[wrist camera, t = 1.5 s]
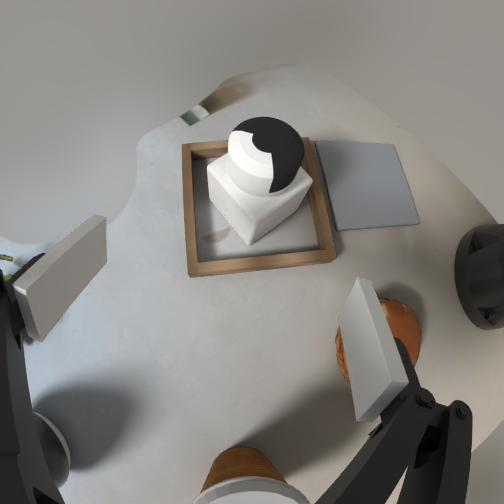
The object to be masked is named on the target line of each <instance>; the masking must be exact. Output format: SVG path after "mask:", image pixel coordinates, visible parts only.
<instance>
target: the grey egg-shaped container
mask: <svg viewBox="0 0 504 504" xmlns="http://www.w3.org/2000/svg"><path fill="white" fill-rule="evenodd" d="M33 414H34V419H35V423H36V428H37V432H38V436H39V439H40V443H41V447H42V450H43V454H44V457H45V460H46V464H47V467H48V470H49V473H50V476H51V478H52V480H53V482H54V484H55V486H56V487H57V489H59V488H60V487H62V486H63V485H64V484H65V482H66V481H67V479H68V475H69V469H70V462H71V460H70V452H69V448H68V445H67V443H66V441H65V439H64V437H63V435H62V434H61V432H60V431H59V430H58V428H57V427H56V426H55V425H54V424H53V423H52V422H51V421H50V420H48V419H47V418H46V417H44V416H42V415H41V414H39V413H36V412H34V411H33Z"/></svg>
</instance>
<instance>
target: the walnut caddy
mask: <svg viewBox="0 0 504 504" xmlns="http://www.w3.org/2000/svg"><path fill="white" fill-rule="evenodd" d="M301 139H302V141H303V144H304V149H305V152H304V158H303V161H302V163H301V165H302V168H303V169H304V170H305V172H306V173H307V174H308V175H309V176H310V177H311V178H312V179H313V182H312V184H311V186H310V188H309V190H308V196H309V201H310V205H311V210H312V215H313V220H314V225H315V230H316V235H317V240H318V246H319V250H317V251H307V252H297V253H288V254H278V255H268V256H258V257H249V258H239V259H229V260H219V261H209V262H199V261H198V249H197V236H196V223H195V207H194V190H193V170H192V160H194V159H204V158H215V157H221V156H223V155H225V154H226V153H228V142H229V140H223V141H210V142H199V143H189V144H182V177H183V203H184V223H185V239H186V254H187V267H188V275H189V276H190V278H191V277H202V276H212V275H222V274H231V273H241V272H250V271H260V270H269V269H278V268H287V267H296V266H305V265H313V264H322V263H330V262H332V261H333V260H334V259H336V258H337V257H336V252H335V247H334V242H333V237H332V232H331V228H330V223H329V218H328V214H327V209H326V205H325V201H324V196H323V192H322V188H321V184H320V180H319V175H318V171H317V168H316V164H315V160H314V156H313V152H312V148H311V145H310V141H309V138H301Z"/></svg>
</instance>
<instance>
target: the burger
mask: <svg viewBox="0 0 504 504" xmlns="http://www.w3.org/2000/svg"><path fill="white" fill-rule="evenodd" d="M378 300H379V302H380V304H381V307H382V309H383V312H384V314H385V317H386V320H387V322H388V325H389V327H390V330H391V333H392V335H393V337H395V338H400V339H401V341H402V342H403V343H404V345H405V346H406V348H407V350H408V353H409V357H410V358H411V361H412V364H413V366H414V367H415V365H416V362H417V360H418V357H419V351H420V342H421V330H420V325H419V321H418V318H417V316H416V314H415V313H414V311H413V310H411V309H410V308H409V307H408V306H407V305H405V304H401V303H400V302H398V301H396V300H389V299H387V298H385V299H382V298H378ZM335 342H336V349H337V353H336V356H337V362H338V365H339V367H340V369H341V371H342V373H343V374H344V377H345V379H346V380H347V381H348V382H349V383H350V378H349V373H348V367H347V362H346V356H345V351H344V346H343V341H342V336H341V331H340V326H339V328H338V331H337V335H336V339H335Z"/></svg>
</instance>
